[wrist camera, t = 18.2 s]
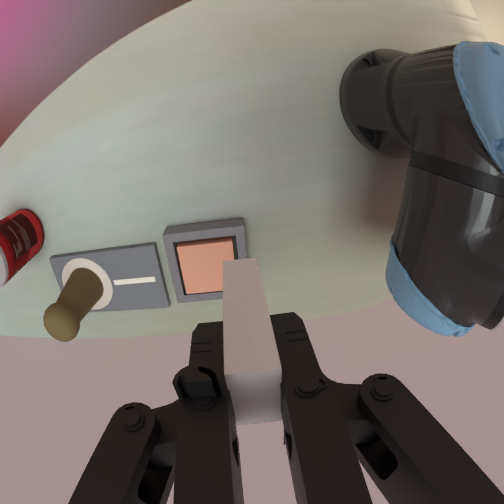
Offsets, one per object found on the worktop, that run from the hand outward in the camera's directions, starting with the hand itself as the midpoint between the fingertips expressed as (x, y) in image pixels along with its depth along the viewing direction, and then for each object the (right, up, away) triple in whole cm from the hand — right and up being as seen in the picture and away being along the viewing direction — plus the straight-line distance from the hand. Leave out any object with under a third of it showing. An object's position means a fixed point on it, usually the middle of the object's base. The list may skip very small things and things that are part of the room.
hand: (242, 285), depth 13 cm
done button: (-5, +1, +26) cm, 26 cm away
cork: (-25, -3, +25) cm, 35 cm away
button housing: (-5, +1, +26) cm, 27 cm away
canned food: (-35, +5, +22) cm, 41 cm away
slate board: (-21, -3, +26) cm, 34 cm away
